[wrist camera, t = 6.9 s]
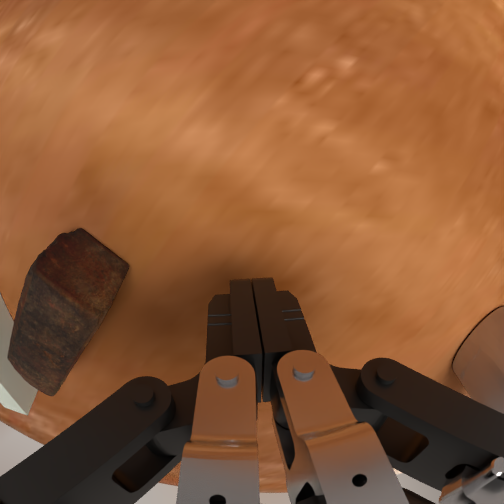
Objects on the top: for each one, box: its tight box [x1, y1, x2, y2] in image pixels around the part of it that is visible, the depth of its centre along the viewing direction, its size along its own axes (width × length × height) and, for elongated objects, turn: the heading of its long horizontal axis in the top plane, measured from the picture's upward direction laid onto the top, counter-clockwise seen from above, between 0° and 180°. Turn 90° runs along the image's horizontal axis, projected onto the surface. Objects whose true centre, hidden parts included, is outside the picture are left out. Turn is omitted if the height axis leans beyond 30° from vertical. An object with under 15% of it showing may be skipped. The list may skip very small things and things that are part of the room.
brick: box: [7, 228, 129, 396], centre depth 12 cm, size 11×4×5 cm, turn 136°
